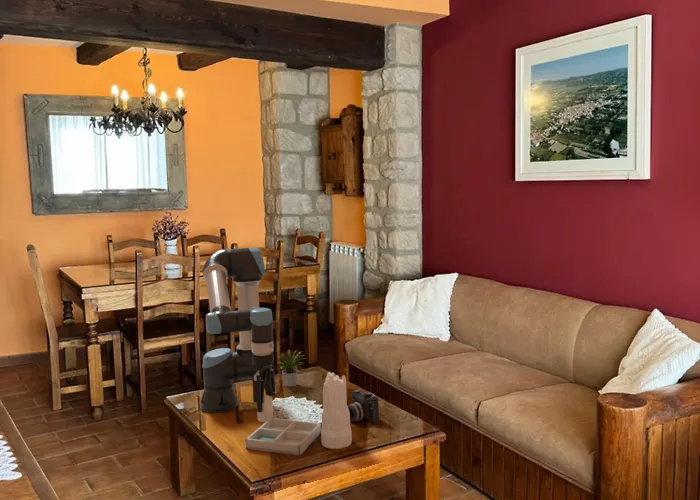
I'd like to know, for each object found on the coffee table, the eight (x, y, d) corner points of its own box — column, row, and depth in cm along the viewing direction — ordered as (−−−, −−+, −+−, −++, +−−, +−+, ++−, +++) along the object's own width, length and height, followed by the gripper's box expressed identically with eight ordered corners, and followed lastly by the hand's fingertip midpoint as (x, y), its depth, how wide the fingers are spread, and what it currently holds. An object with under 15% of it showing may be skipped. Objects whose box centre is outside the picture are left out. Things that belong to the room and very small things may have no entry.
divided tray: (246, 448, 234) (245, 439, 233) (270, 426, 253) (270, 417, 252) (299, 455, 227) (299, 445, 227) (321, 432, 246) (321, 423, 246)
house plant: (292, 393, 289) (290, 356, 287) (267, 387, 297) (266, 352, 294) (311, 383, 301) (310, 348, 299) (287, 378, 308) (286, 344, 306)
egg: (254, 421, 234) (253, 397, 233) (261, 415, 239) (260, 391, 238) (269, 422, 232) (268, 398, 231) (275, 416, 237) (274, 393, 236)
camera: (337, 416, 262) (337, 392, 261) (359, 409, 268) (359, 386, 267) (359, 427, 250) (359, 402, 249) (382, 420, 257) (381, 395, 256)
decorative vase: (355, 446, 234) (353, 377, 231) (325, 450, 231) (323, 380, 228) (346, 434, 244) (345, 368, 241) (318, 438, 241) (316, 371, 238)
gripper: (260, 361, 223) (263, 427, 226) (283, 346, 240) (285, 408, 243) (240, 359, 225) (243, 425, 228) (264, 345, 243) (267, 406, 245)
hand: (265, 416), depth 236 cm, fingers closed on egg, 5 cm apart
